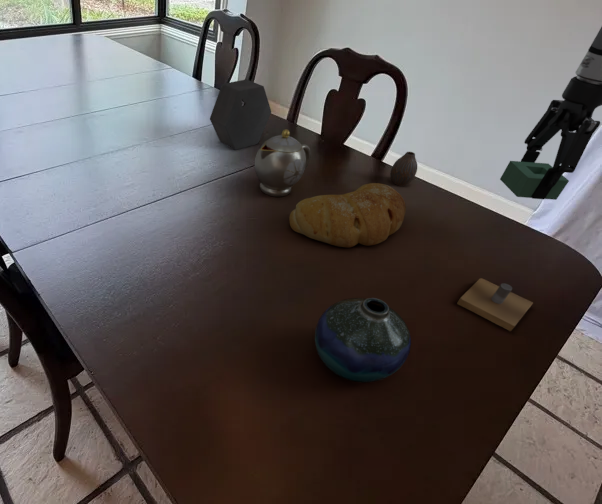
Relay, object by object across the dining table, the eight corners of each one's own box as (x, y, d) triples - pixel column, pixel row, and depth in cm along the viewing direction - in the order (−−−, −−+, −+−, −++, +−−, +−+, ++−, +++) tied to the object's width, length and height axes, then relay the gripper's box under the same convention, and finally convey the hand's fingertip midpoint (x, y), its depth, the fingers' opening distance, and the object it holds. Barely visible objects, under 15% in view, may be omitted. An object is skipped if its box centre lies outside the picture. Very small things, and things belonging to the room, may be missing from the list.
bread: (326, 262, 100) (338, 223, 93) (277, 220, 112) (285, 182, 105) (426, 234, 111) (445, 197, 104) (372, 198, 123) (385, 163, 116)
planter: (259, 117, 150) (241, 63, 132) (275, 125, 146) (258, 69, 128) (225, 153, 150) (202, 104, 132) (240, 162, 146) (219, 112, 128)
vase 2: (383, 182, 131) (394, 152, 125) (393, 175, 135) (404, 146, 128) (405, 190, 128) (417, 160, 121) (414, 183, 131) (427, 153, 125)
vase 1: (373, 330, 85) (400, 274, 75) (410, 393, 74) (446, 338, 64) (297, 333, 83) (314, 277, 73) (323, 399, 72) (347, 342, 63)
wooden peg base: (477, 282, 97) (489, 264, 94) (529, 308, 92) (544, 289, 88) (456, 303, 92) (468, 284, 88) (510, 331, 87) (525, 312, 83)
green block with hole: (536, 181, 106) (548, 163, 103) (556, 199, 99) (569, 180, 96) (499, 179, 106) (510, 160, 103) (516, 197, 99) (528, 177, 96)
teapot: (268, 207, 116) (280, 144, 105) (239, 185, 124) (247, 124, 112) (319, 193, 123) (335, 133, 112) (288, 173, 131) (300, 115, 120)
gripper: (547, 63, 94) (491, 167, 110) (609, 95, 79) (534, 210, 95) (582, 66, 94) (521, 169, 110) (650, 98, 79) (568, 212, 95)
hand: (527, 188), depth 102 cm, fingers closed on green block with hole, 9 cm apart
